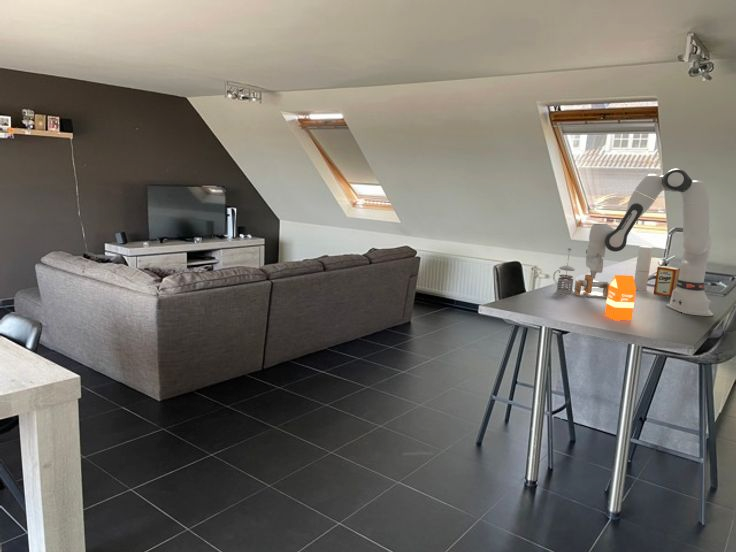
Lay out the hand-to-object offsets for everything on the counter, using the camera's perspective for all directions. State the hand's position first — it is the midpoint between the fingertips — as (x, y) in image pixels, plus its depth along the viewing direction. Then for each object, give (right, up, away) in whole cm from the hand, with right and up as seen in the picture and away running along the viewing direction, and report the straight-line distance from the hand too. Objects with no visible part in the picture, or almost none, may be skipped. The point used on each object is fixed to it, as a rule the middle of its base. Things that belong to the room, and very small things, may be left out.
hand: (592, 278), depth 294 cm
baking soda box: (+45, -10, +12) cm, 48 cm away
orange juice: (-7, -18, -46) cm, 50 cm away
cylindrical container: (+38, -7, +26) cm, 46 cm away
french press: (-15, -8, +3) cm, 18 cm away
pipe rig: (+1, -9, +2) cm, 9 cm away
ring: (-2, -7, +2) cm, 8 cm away
